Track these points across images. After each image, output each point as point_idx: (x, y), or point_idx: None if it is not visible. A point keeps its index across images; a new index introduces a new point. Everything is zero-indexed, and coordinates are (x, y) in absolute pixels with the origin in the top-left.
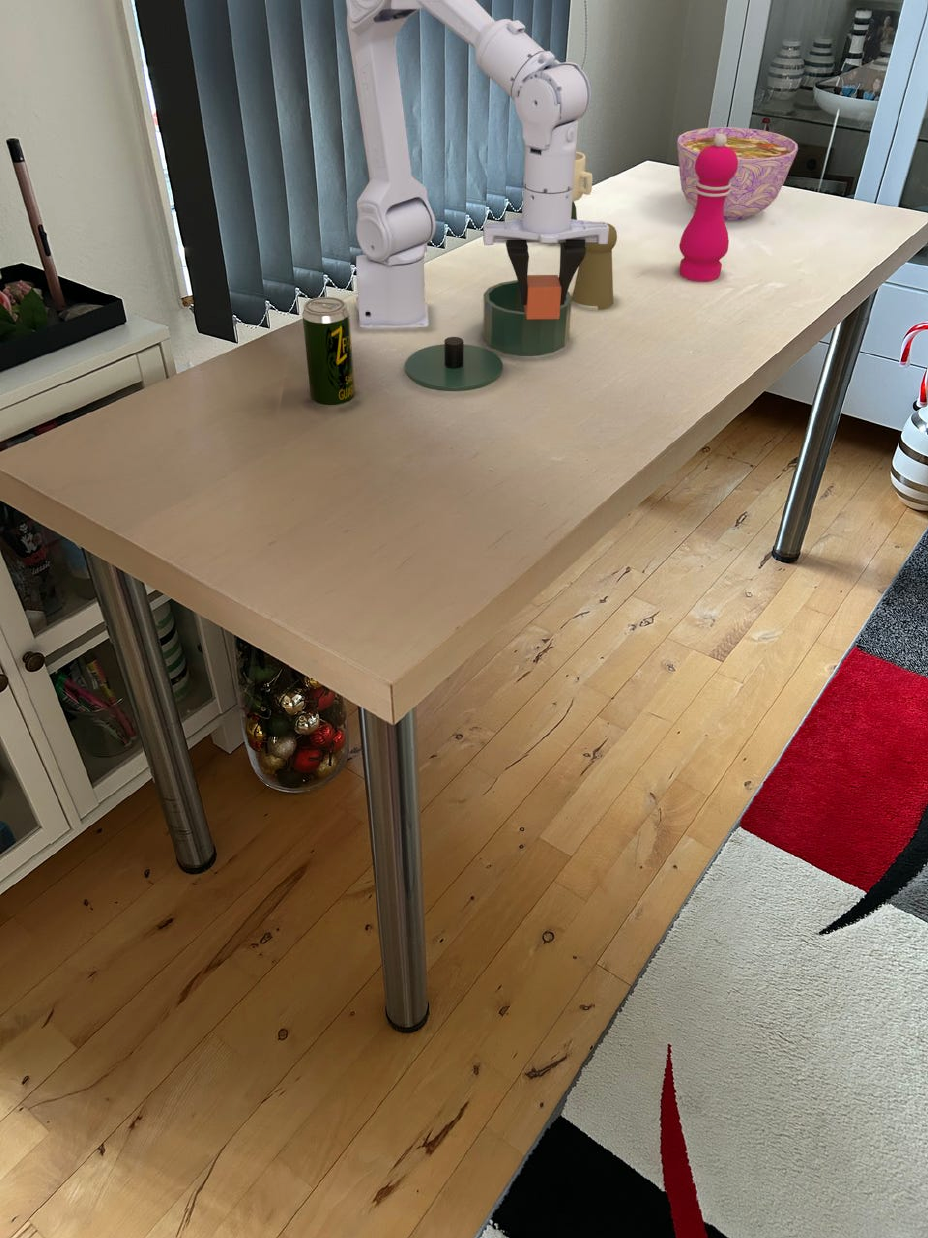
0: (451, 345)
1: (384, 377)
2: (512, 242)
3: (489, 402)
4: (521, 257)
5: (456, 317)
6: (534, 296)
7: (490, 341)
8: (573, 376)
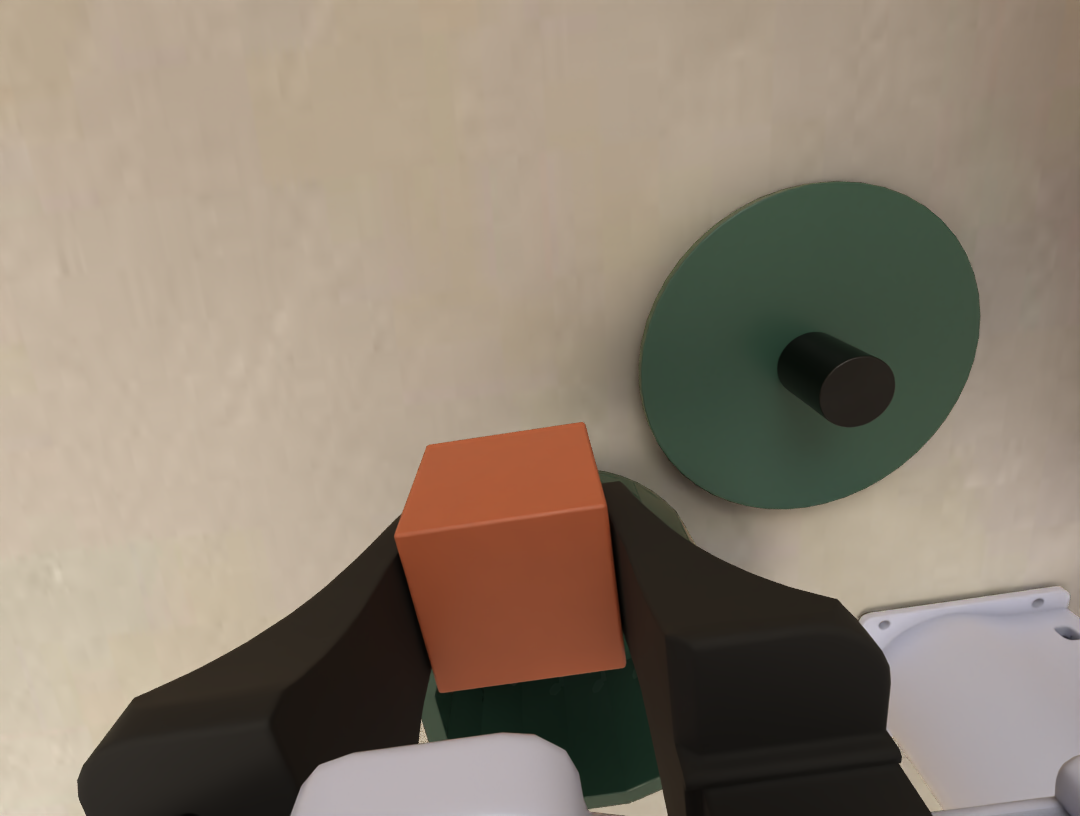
0: (868, 355)
1: (1031, 292)
2: (863, 810)
3: (678, 140)
4: (737, 616)
5: None
6: (559, 479)
7: (683, 526)
8: (398, 375)
